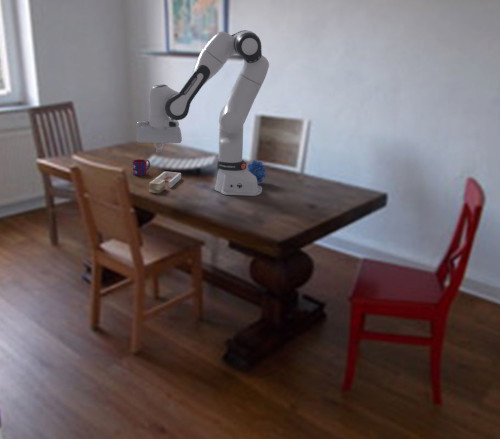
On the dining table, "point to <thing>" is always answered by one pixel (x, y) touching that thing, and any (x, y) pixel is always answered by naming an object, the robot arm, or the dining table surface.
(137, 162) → the mug
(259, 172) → the grapes
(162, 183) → the block
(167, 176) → the white u-shaped frame
